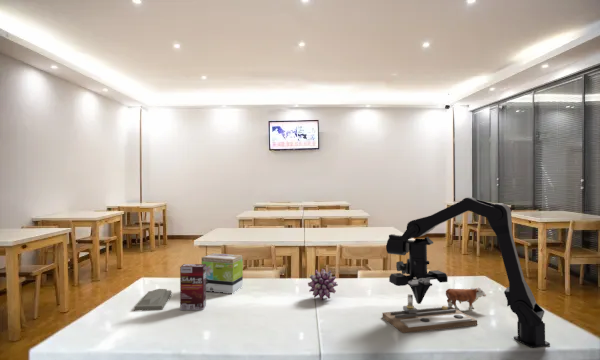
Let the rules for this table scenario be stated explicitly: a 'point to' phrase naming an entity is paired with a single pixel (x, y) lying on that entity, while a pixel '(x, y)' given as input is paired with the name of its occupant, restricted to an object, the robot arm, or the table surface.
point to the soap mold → (154, 300)
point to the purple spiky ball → (322, 284)
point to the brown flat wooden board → (429, 319)
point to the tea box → (223, 272)
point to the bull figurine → (464, 296)
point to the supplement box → (192, 286)
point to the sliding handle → (410, 305)
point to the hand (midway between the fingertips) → (418, 303)
